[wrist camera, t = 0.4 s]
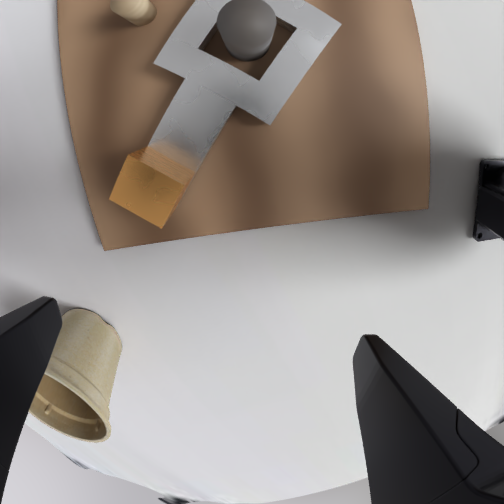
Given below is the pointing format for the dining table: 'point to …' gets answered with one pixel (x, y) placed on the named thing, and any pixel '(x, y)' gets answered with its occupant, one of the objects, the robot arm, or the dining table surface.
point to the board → (252, 116)
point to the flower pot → (79, 378)
